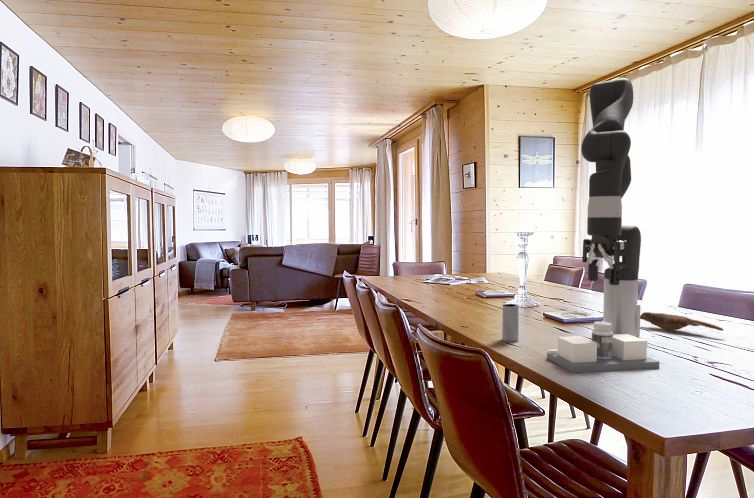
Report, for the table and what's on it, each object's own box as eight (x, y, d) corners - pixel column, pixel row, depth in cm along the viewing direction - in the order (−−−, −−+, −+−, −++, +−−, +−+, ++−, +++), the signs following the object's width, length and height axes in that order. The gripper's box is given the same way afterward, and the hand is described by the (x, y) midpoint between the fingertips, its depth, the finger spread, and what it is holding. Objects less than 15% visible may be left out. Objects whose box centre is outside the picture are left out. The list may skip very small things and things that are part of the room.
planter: (518, 338, 146) (519, 304, 145) (517, 342, 142) (518, 306, 141) (503, 337, 147) (503, 303, 147) (501, 341, 143) (502, 305, 142)
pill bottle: (587, 354, 123) (588, 321, 122) (605, 354, 123) (606, 320, 122) (597, 360, 118) (598, 325, 117) (616, 359, 118) (617, 324, 118)
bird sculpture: (720, 340, 143) (721, 323, 143) (630, 326, 162) (630, 311, 162) (727, 336, 148) (727, 320, 147) (638, 323, 166) (639, 309, 166)
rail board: (626, 354, 128) (626, 331, 128) (659, 367, 116) (660, 342, 116) (547, 358, 125) (547, 334, 125) (572, 372, 113) (573, 346, 113)
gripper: (638, 215, 112) (636, 286, 113) (600, 216, 126) (599, 279, 127) (608, 215, 111) (606, 287, 112) (573, 216, 125) (572, 279, 126)
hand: (603, 282), depth 119 cm, fingers open, 8 cm apart
